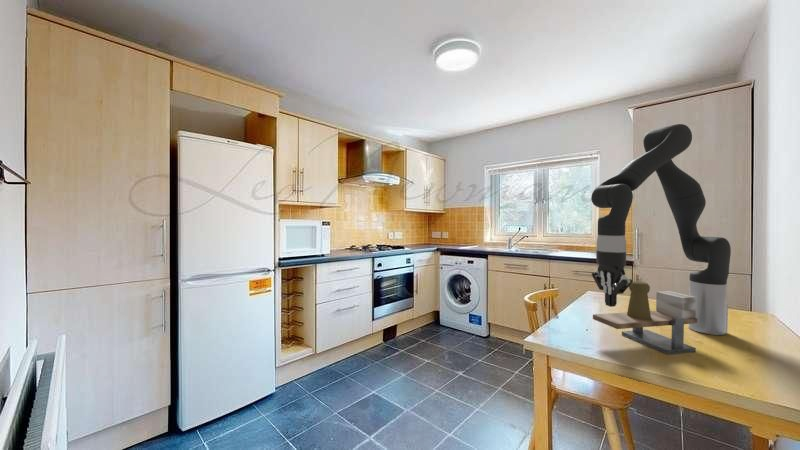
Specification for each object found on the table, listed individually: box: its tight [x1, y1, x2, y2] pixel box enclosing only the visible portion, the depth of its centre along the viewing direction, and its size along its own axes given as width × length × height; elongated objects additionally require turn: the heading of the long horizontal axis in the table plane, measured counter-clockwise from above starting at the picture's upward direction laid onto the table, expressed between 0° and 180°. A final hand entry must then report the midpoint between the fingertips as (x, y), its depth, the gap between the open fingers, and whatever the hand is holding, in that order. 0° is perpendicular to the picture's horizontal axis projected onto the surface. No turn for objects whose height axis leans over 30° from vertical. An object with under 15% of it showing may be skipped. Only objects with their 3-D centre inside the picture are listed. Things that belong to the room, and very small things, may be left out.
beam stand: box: [621, 317, 697, 355], centre depth 96 cm, size 10×15×10 cm, turn 9°
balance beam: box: [592, 290, 697, 330], centre depth 96 cm, size 28×11×8 cm, turn 99°
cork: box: [627, 280, 651, 320], centre depth 95 cm, size 6×6×11 cm
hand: (610, 305), depth 94 cm, fingers closed
